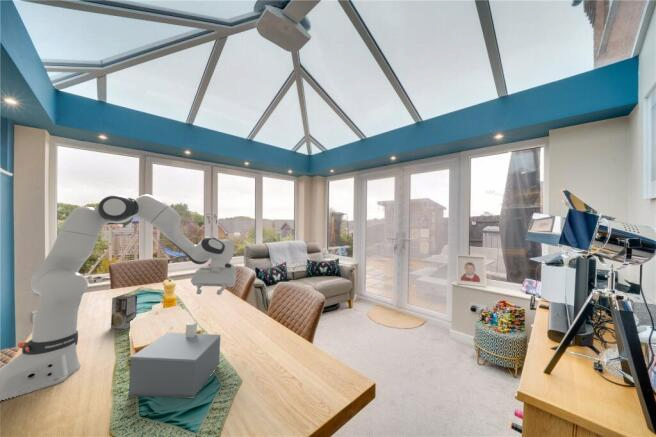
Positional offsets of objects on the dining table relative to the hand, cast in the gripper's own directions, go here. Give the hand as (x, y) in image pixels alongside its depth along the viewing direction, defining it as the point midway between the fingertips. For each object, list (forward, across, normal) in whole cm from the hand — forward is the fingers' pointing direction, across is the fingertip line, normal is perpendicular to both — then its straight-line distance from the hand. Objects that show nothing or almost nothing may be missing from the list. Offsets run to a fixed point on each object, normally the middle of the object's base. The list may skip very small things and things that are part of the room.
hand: (208, 293), depth 110 cm
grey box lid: (+24, 0, -6) cm, 25 cm away
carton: (+33, 0, +2) cm, 33 cm away
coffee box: (+4, -56, +32) cm, 65 cm away
